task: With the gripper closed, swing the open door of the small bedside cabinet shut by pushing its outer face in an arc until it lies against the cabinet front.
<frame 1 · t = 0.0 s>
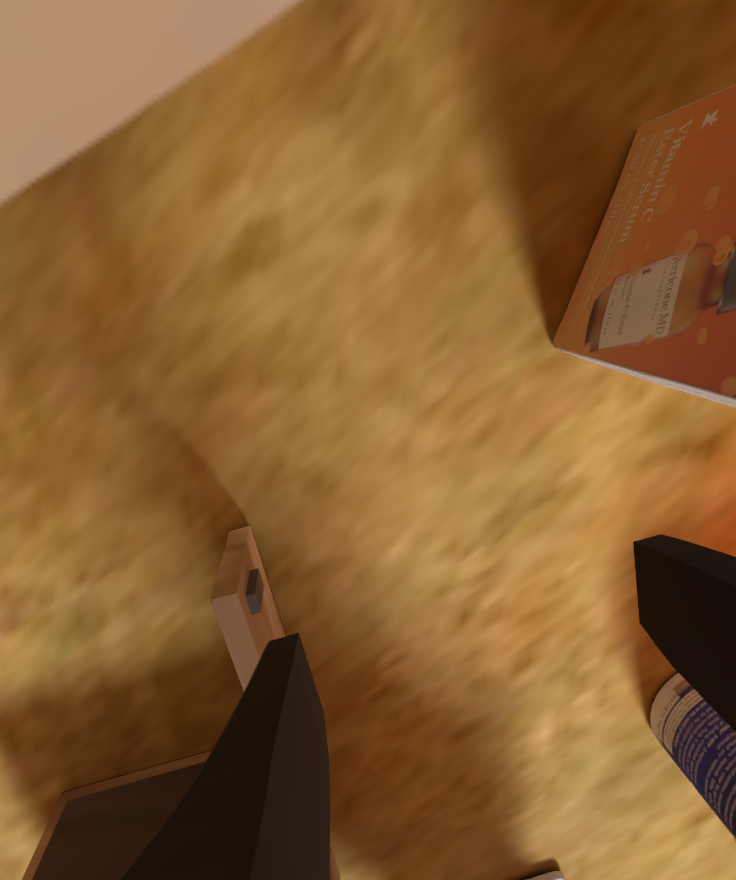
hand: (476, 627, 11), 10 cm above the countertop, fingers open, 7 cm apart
pill bottle: (694, 700, 26), on the countertop
small box: (650, 267, 20), on the countertop
cabinet: (210, 837, 25), on the countertop
door: (276, 675, 20), point 3 cm above the countertop, hinge at 90.0°
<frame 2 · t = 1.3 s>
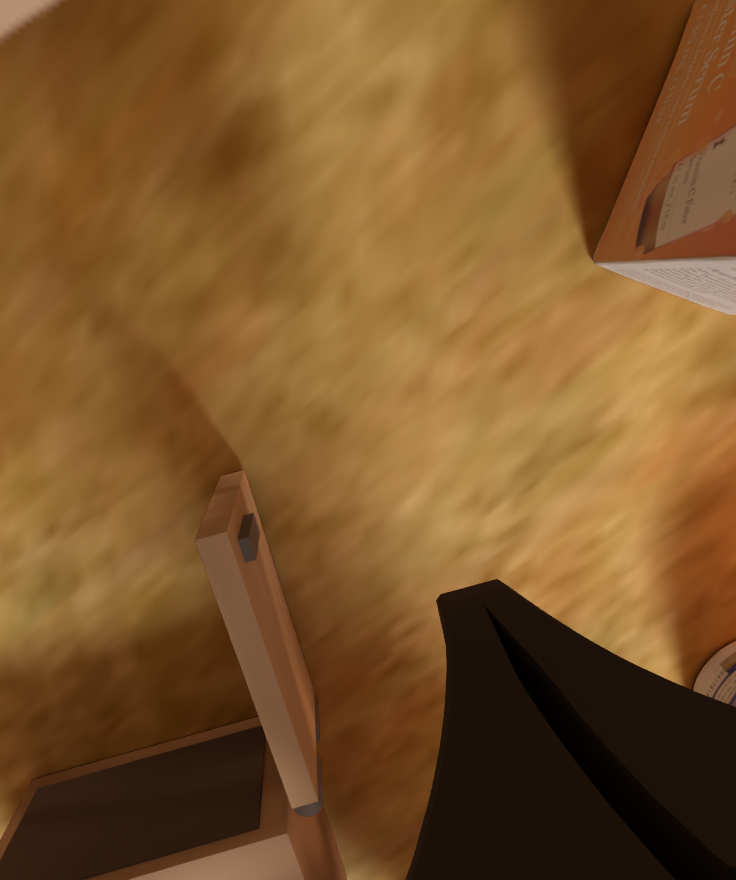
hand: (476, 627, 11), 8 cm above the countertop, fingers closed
small box: (704, 171, 17), on the countertop
cabinet: (201, 830, 22), on the countertop
door: (274, 641, 17), point 3 cm above the countertop, hinge at 90.0°
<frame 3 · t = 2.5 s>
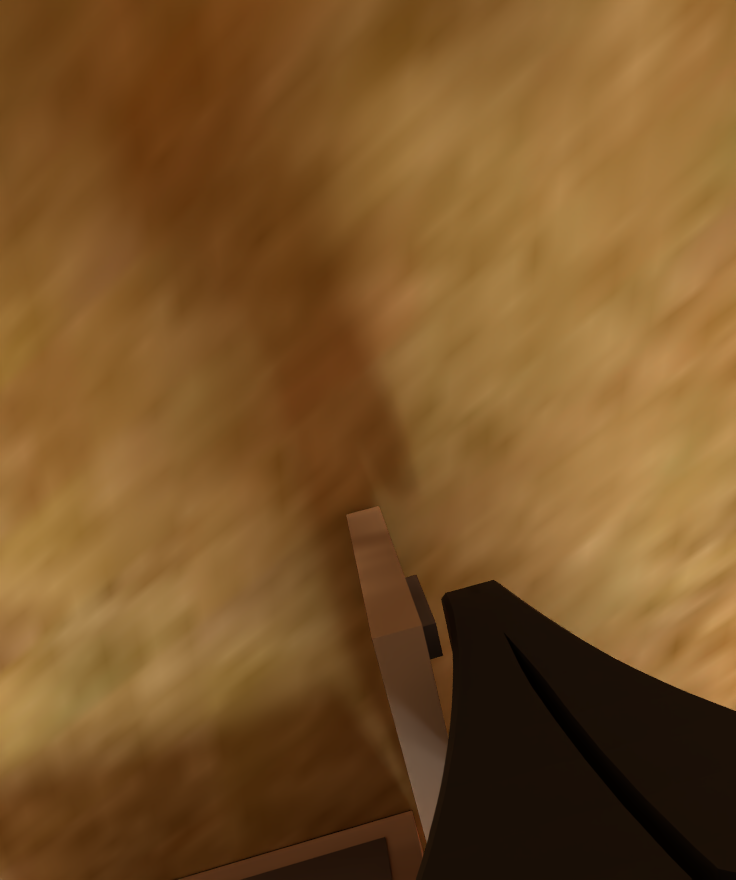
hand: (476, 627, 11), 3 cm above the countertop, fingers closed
door: (430, 750, 12), point 3 cm above the countertop, hinge at 90.0°, touching gripper
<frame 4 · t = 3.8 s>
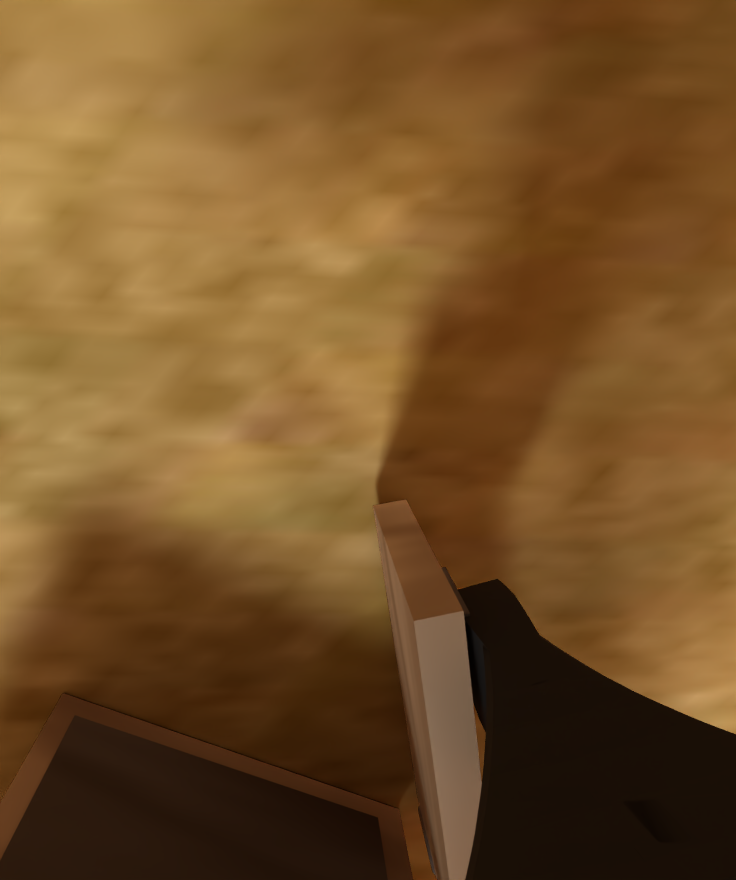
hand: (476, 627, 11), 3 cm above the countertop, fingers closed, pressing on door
cabinet: (168, 878, 15), on the countertop
door: (441, 745, 12), point 3 cm above the countertop, hinge at 51.0°, touching gripper
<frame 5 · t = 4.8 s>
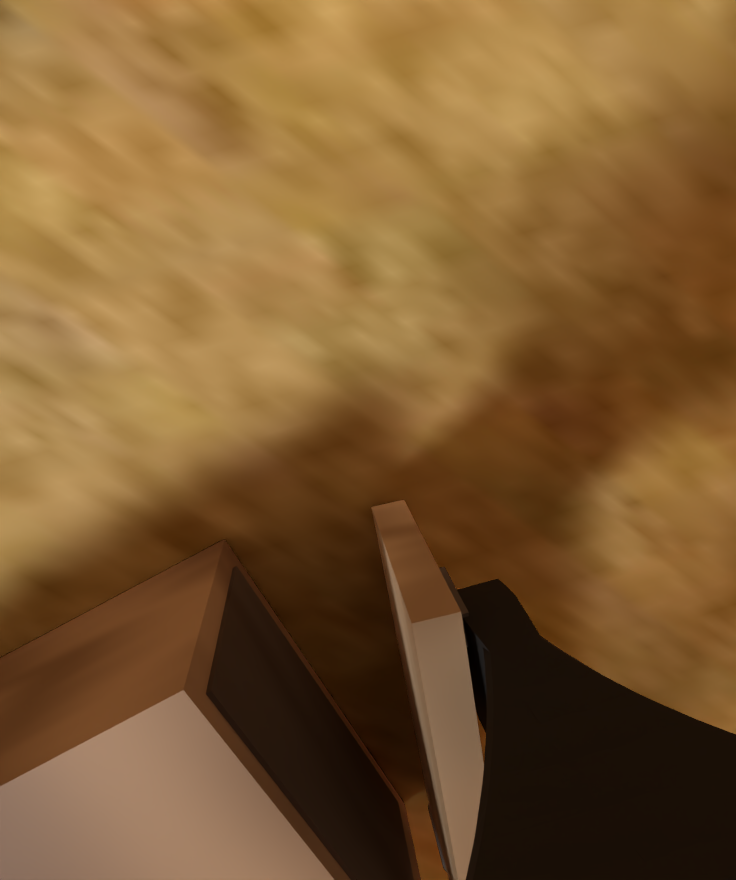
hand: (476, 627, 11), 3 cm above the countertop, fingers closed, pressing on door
cabinet: (167, 767, 14), on the countertop
door: (447, 743, 12), point 3 cm above the countertop, hinge at 16.7°, touching gripper
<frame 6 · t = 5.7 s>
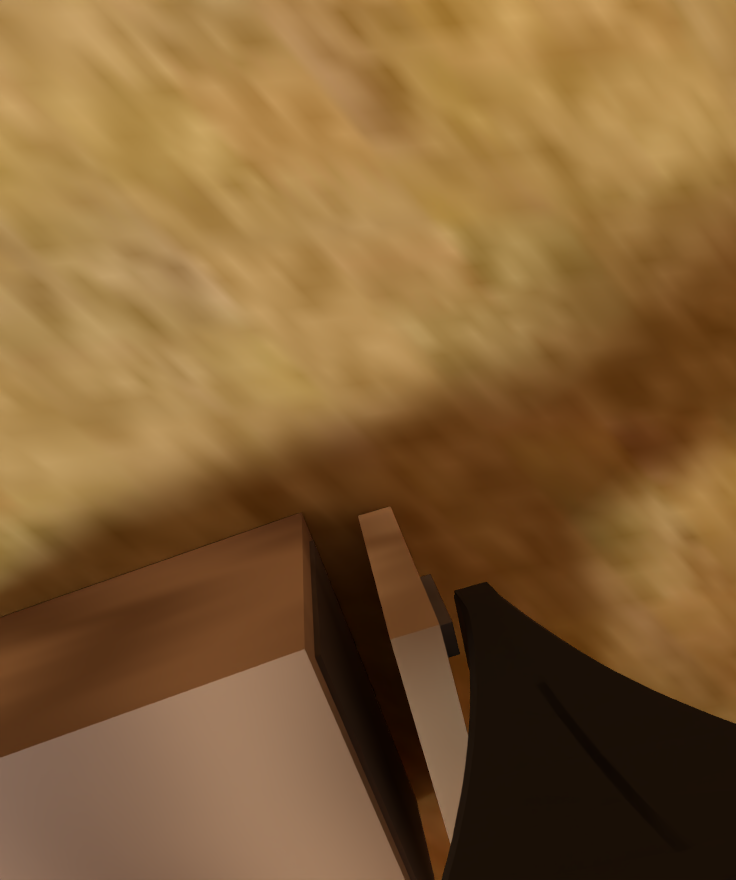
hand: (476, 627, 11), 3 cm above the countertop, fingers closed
cabinet: (195, 734, 14), on the countertop
door: (448, 747, 12), point 3 cm above the countertop, hinge at 3.3°, touching gripper
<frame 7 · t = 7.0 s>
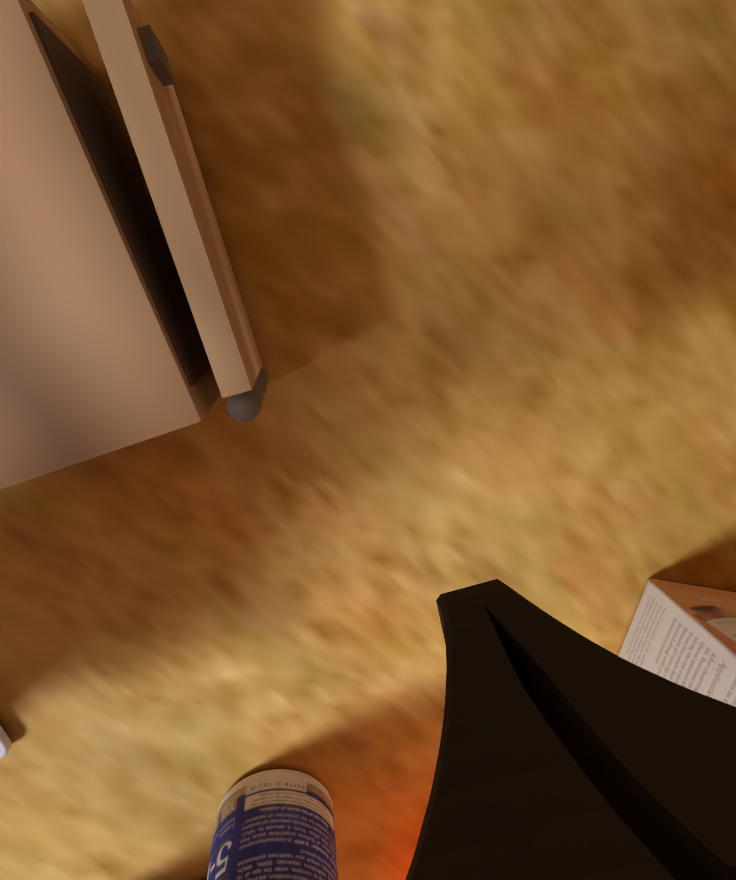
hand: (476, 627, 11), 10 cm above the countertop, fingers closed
pill bottle: (275, 806, 25), on the countertop
small box: (696, 635, 25), on the countertop
cabinet: (23, 287, 17), on the countertop
door: (201, 235, 15), point 3 cm above the countertop, hinge at 3.2°
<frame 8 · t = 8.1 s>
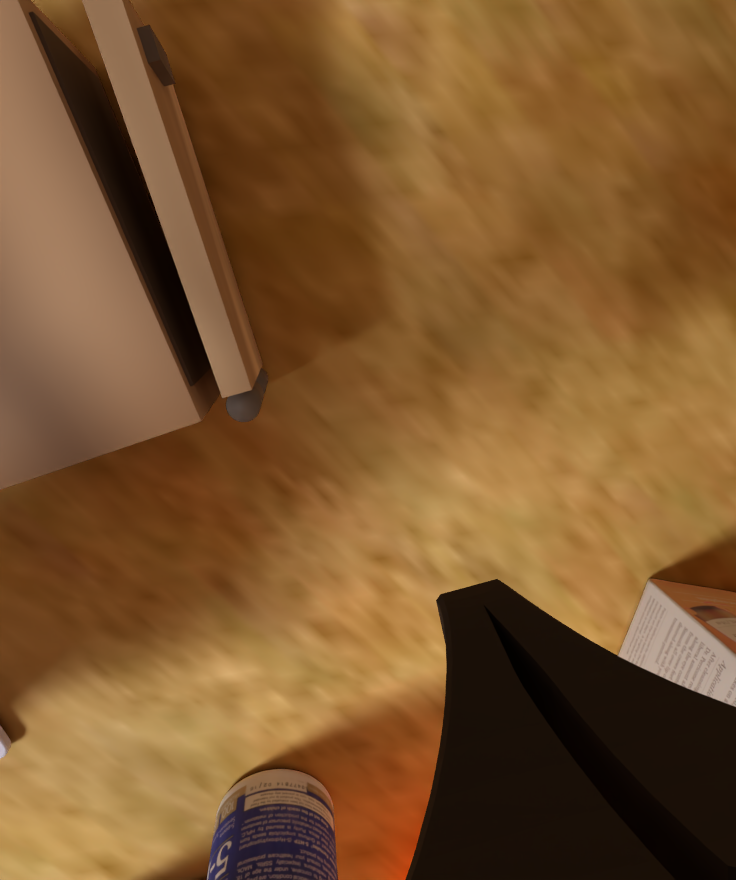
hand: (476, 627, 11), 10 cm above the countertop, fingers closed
pill bottle: (275, 806, 25), on the countertop
small box: (696, 635, 25), on the countertop
cabinet: (23, 287, 17), on the countertop
door: (201, 235, 15), point 3 cm above the countertop, hinge at 3.2°
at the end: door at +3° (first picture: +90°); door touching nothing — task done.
